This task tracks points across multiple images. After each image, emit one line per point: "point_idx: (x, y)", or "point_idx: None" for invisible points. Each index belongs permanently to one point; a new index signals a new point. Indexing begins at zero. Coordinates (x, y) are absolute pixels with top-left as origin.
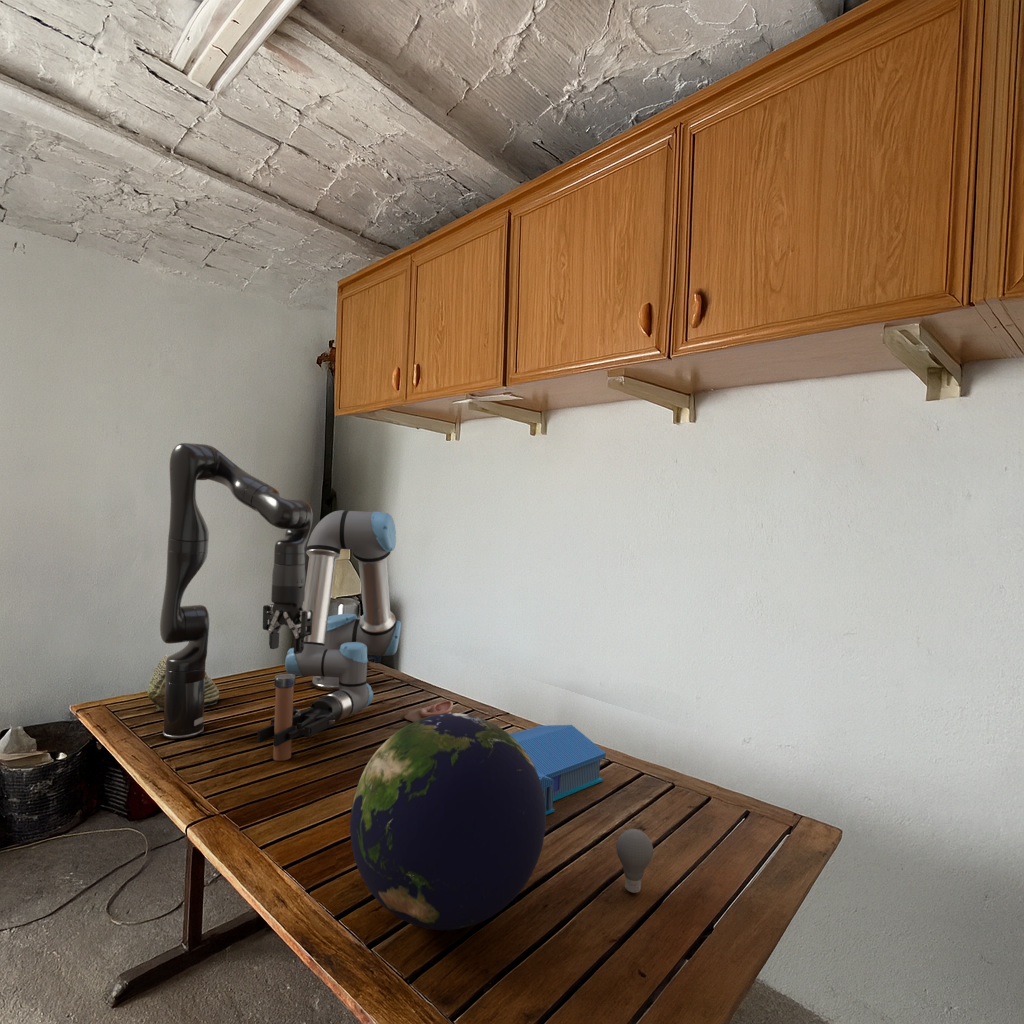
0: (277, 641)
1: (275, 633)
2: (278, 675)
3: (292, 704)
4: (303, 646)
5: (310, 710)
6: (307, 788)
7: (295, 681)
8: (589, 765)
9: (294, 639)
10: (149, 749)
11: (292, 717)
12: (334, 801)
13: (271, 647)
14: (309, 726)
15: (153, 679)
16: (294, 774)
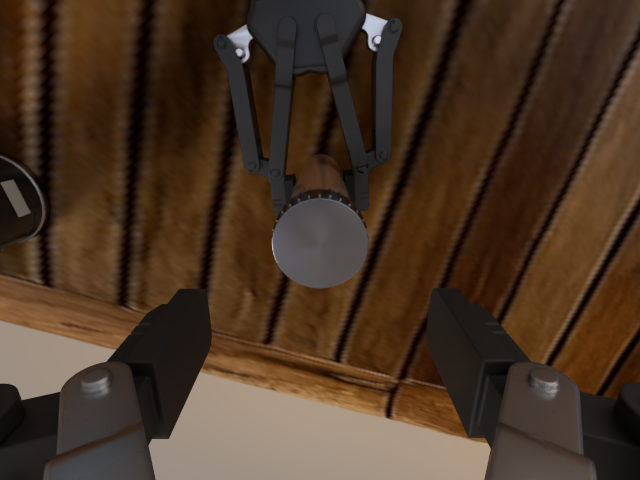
0: (188, 325)
1: (157, 403)
2: (285, 254)
3: (349, 197)
4: (499, 327)
5: (295, 38)
6: (473, 256)
7: (356, 207)
8: None
9: (470, 430)
10: (54, 292)
11: (343, 182)
12: (552, 268)
13: (205, 351)
14: (388, 150)
15: None
16: (408, 224)
